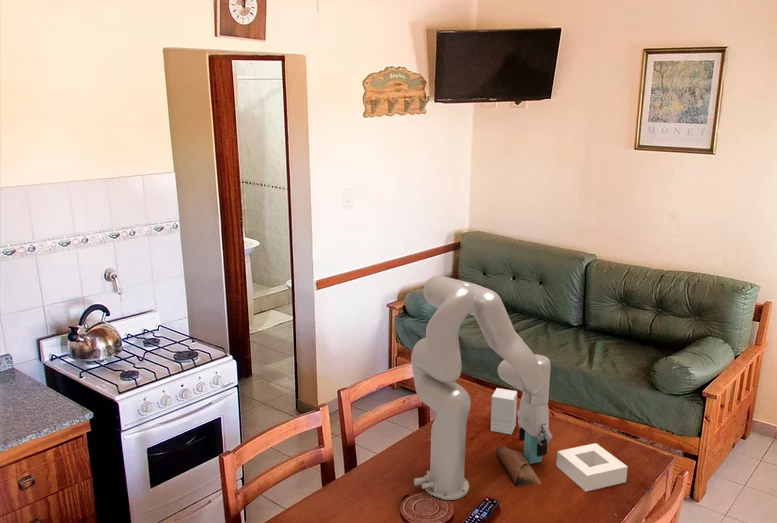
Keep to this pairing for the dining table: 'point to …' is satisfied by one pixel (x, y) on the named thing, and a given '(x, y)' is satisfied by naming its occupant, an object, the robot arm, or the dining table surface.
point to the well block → (595, 477)
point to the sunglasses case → (517, 467)
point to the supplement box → (503, 411)
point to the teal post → (531, 448)
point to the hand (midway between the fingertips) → (532, 447)
